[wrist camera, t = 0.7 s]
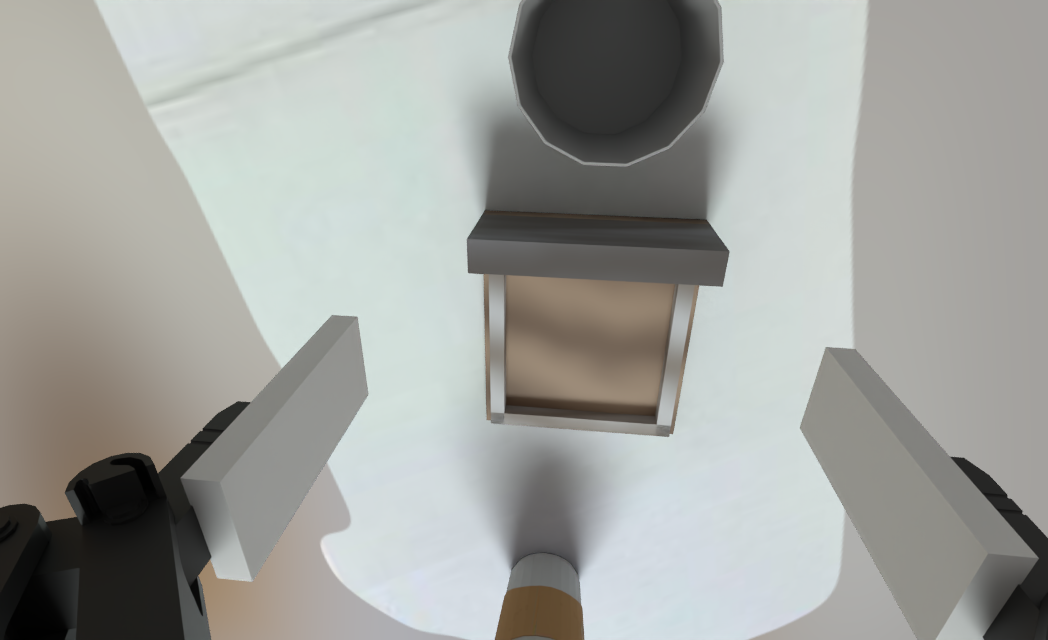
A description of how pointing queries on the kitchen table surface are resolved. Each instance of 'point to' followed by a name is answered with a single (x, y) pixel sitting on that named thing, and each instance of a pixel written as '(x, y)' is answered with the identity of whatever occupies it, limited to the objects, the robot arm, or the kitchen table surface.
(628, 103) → the cup
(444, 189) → the kitchen table surface
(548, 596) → the coffee cup
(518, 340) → the brown flat tray-like piece
